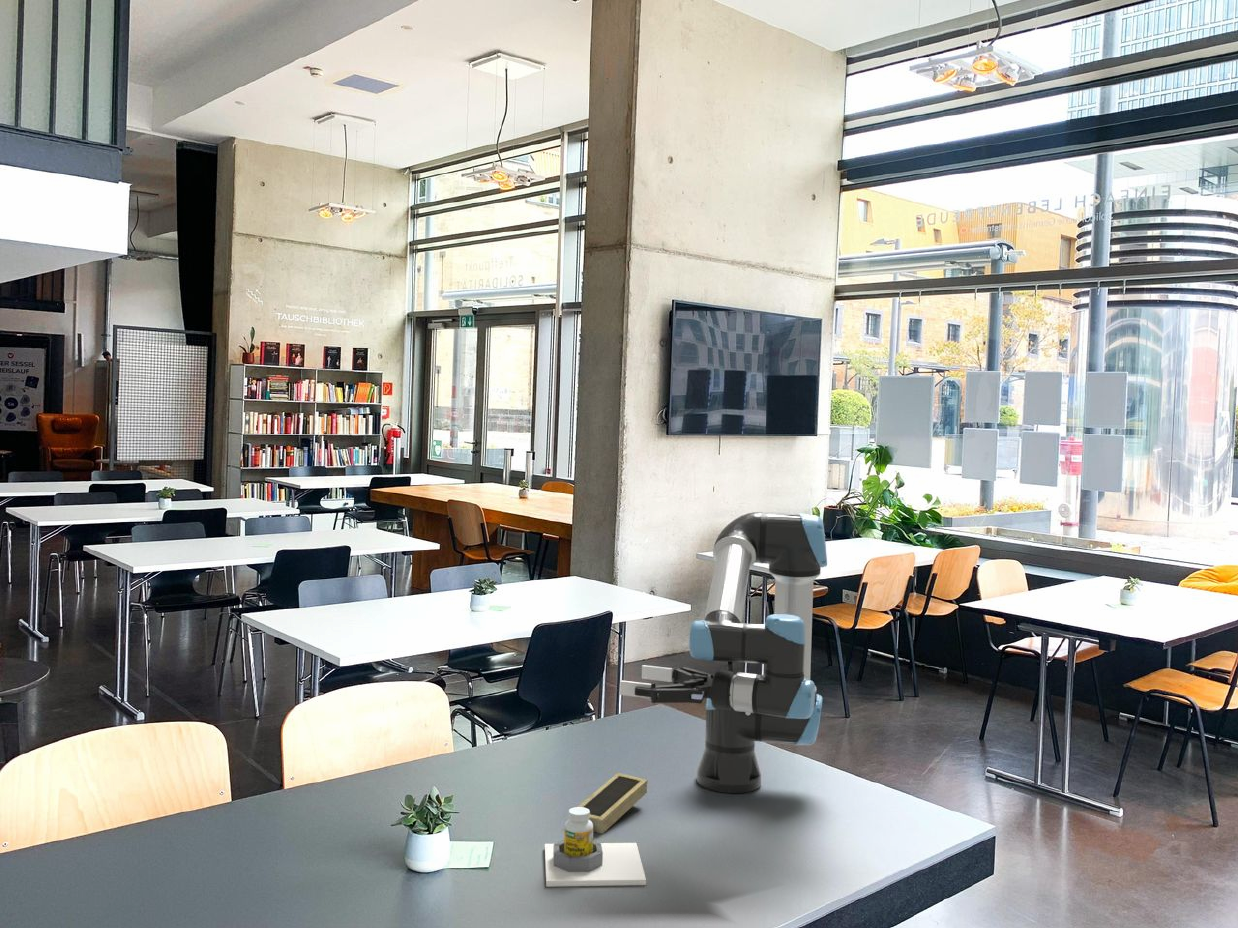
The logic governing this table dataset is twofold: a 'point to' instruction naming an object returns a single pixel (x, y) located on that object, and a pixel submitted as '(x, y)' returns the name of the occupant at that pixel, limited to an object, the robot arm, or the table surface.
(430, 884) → the table surface
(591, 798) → the box
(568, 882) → the plate
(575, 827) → the supplement bottle
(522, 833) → the table surface
